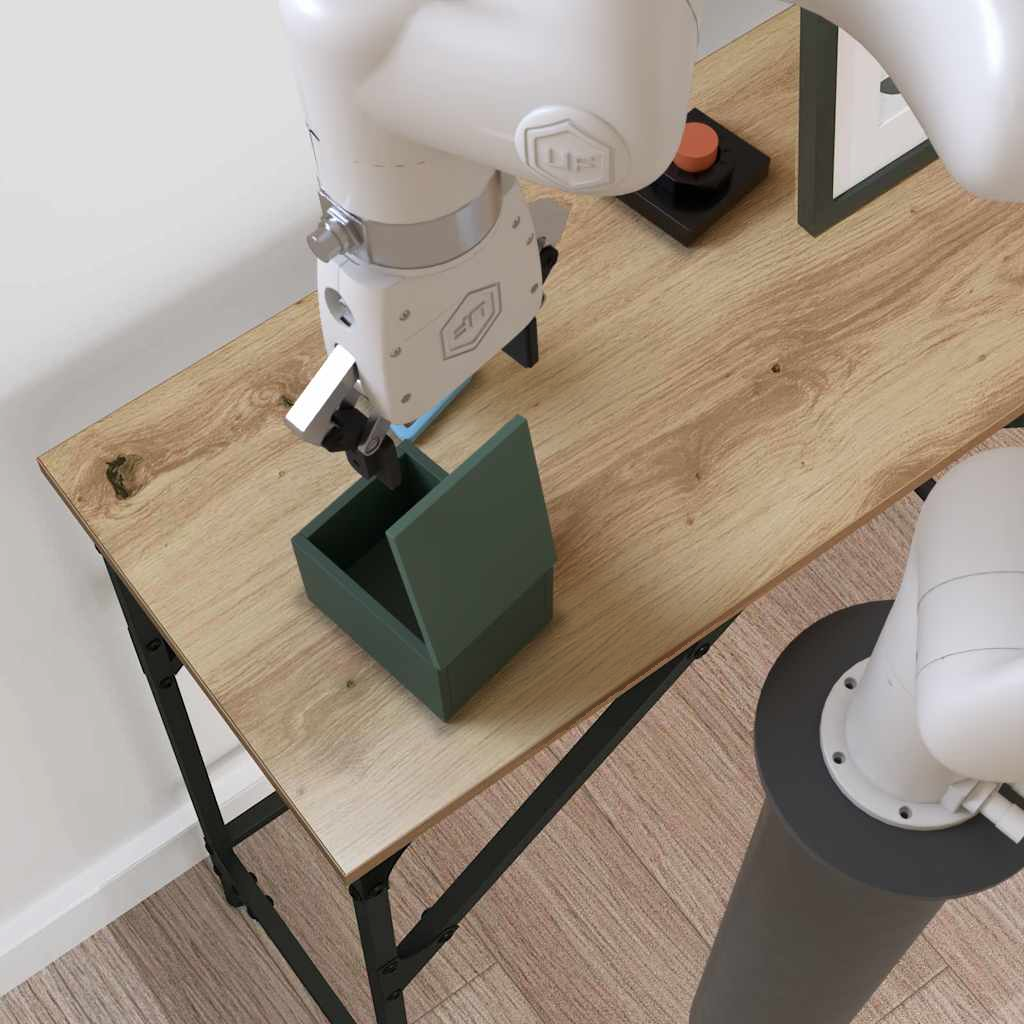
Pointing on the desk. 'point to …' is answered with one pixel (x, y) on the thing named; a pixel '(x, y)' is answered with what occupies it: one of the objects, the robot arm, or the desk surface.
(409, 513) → the box lid
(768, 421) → the desk surface
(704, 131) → the button
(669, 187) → the push button base
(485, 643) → the green box
